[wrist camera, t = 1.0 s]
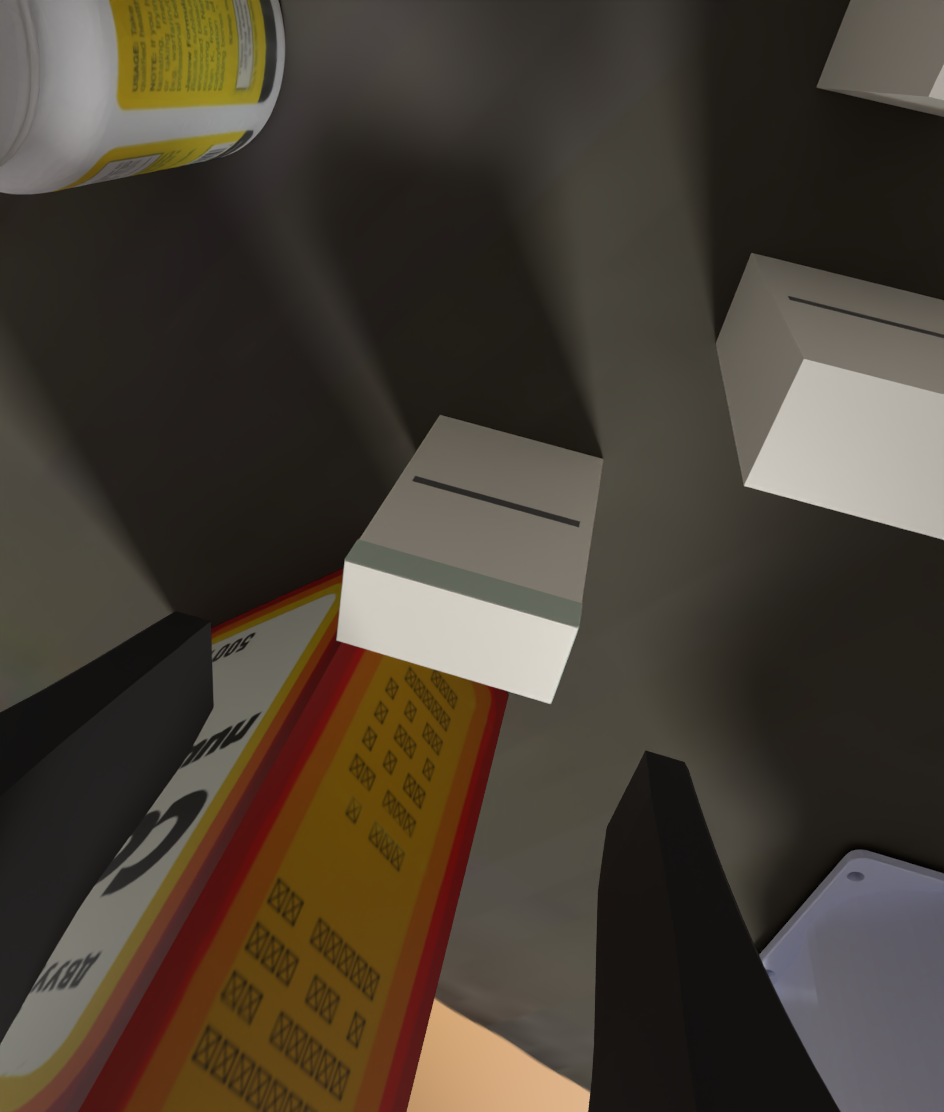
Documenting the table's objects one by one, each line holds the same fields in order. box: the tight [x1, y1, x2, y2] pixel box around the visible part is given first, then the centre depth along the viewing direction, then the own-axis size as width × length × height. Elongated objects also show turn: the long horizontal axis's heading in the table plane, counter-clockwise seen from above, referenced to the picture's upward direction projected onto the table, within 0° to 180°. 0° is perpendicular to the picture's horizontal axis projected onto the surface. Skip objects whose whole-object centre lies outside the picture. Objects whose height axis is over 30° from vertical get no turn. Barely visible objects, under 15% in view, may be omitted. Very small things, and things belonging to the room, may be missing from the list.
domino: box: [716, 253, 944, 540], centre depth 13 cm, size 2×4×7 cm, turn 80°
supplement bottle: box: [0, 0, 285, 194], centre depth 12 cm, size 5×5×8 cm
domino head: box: [336, 415, 603, 704], centre depth 17 cm, size 2×4×7 cm, turn 79°
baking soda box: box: [0, 568, 508, 1112], centre depth 18 cm, size 10×6×16 cm
